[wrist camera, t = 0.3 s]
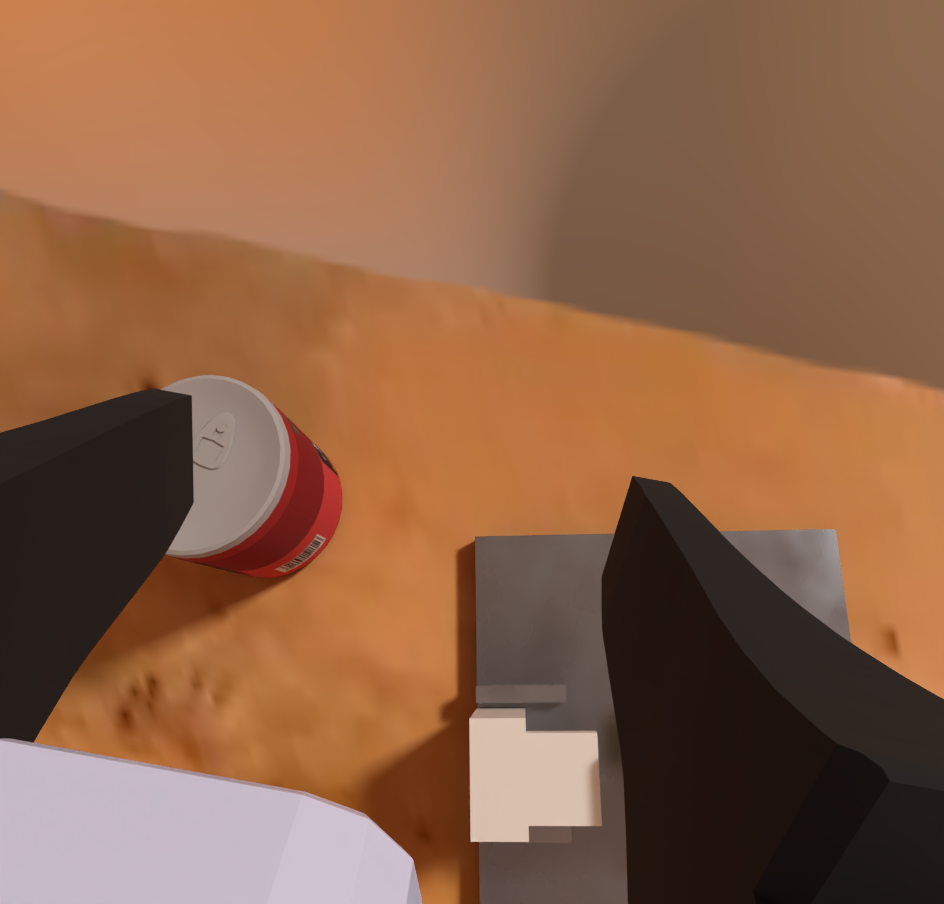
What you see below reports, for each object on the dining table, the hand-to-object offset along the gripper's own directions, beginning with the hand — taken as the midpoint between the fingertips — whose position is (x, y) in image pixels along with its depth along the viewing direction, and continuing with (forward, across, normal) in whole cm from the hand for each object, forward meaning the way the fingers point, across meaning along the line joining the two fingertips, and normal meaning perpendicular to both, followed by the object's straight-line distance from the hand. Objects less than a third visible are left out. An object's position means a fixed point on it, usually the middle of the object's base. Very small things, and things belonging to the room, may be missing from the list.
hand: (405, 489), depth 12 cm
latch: (+15, -7, +23) cm, 28 cm away
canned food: (+24, +9, +18) cm, 32 cm away
